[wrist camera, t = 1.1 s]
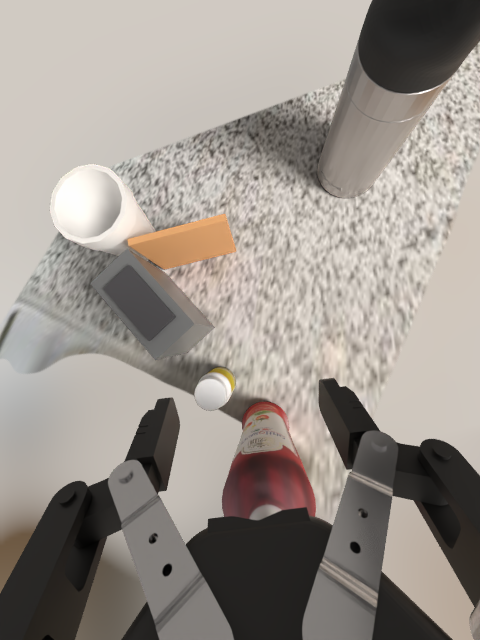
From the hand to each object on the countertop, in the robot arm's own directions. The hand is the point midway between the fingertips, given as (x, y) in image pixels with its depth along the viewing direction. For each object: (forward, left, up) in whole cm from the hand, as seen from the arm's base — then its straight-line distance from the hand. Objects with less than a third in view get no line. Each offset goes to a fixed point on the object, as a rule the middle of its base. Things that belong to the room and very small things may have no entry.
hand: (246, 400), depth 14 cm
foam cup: (+1, -27, -26) cm, 37 cm away
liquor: (+6, +8, -26) cm, 28 cm away
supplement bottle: (+7, -1, -26) cm, 27 cm away
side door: (-4, -18, -25) cm, 31 cm away
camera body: (+5, -14, -26) cm, 30 cm away
